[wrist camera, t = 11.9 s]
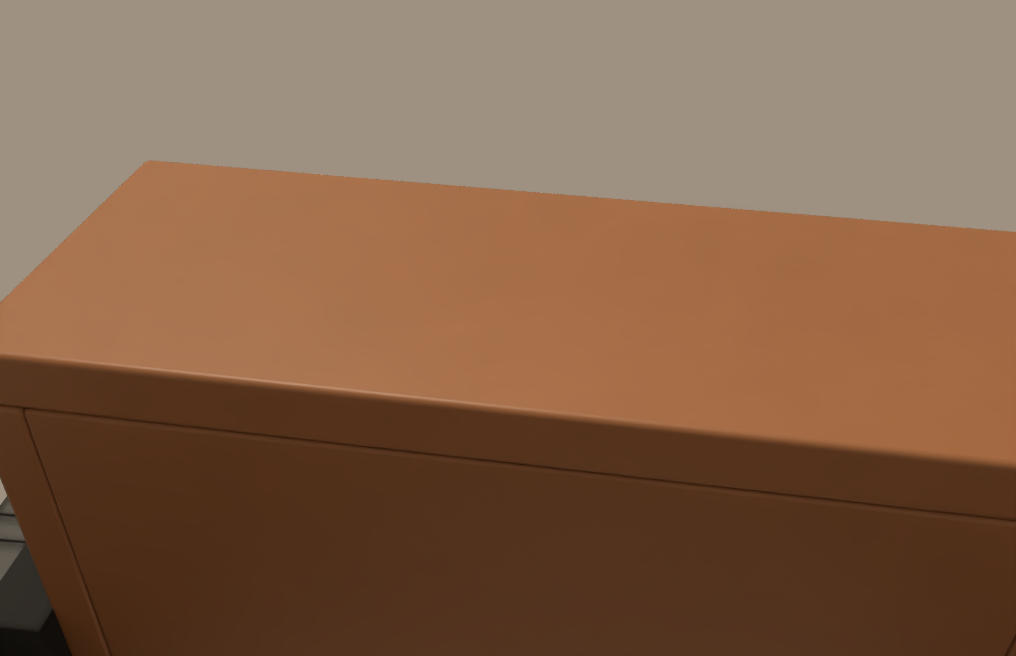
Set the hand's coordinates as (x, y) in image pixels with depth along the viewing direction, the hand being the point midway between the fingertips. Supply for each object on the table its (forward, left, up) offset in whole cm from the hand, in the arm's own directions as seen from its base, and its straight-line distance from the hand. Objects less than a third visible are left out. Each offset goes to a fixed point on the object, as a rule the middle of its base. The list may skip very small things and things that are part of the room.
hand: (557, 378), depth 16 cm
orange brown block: (0, -5, -4) cm, 6 cm away
